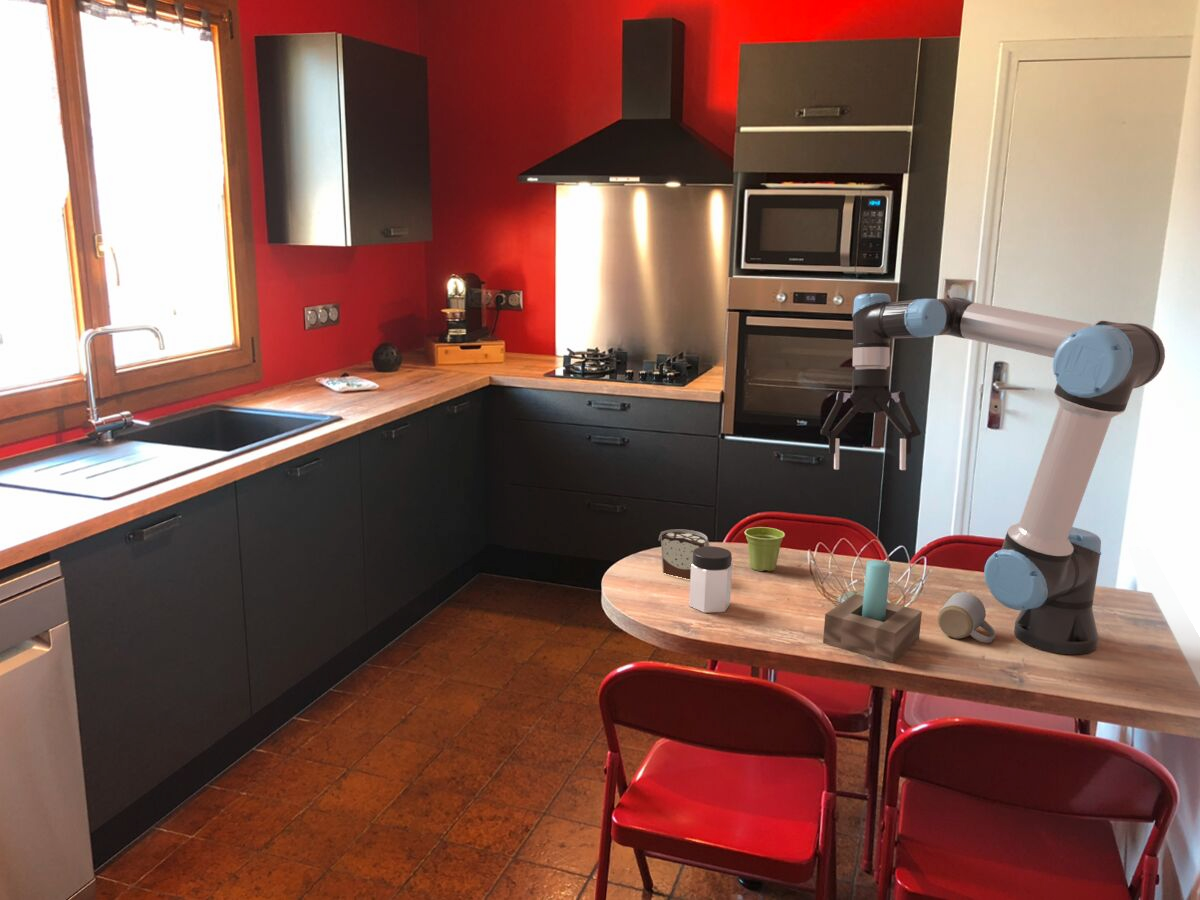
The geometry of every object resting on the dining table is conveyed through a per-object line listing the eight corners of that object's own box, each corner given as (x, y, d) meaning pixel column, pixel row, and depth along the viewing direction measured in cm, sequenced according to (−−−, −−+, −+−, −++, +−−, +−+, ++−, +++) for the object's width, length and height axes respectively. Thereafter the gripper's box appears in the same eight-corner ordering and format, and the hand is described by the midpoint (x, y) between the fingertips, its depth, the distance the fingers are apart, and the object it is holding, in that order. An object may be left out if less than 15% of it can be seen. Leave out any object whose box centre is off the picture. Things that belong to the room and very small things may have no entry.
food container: (716, 576, 228) (719, 535, 226) (705, 584, 223) (707, 541, 221) (669, 565, 234) (671, 525, 232) (657, 573, 229) (658, 531, 227)
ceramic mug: (933, 635, 198) (938, 599, 196) (945, 622, 204) (950, 587, 203) (988, 649, 192) (993, 613, 190) (999, 636, 199) (1004, 600, 197)
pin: (886, 635, 194) (893, 563, 191) (878, 642, 191) (884, 569, 188) (865, 629, 197) (871, 558, 194) (856, 636, 194) (862, 564, 190)
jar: (738, 607, 210) (741, 554, 207) (711, 616, 204) (714, 561, 202) (708, 595, 216) (710, 543, 214) (681, 603, 211) (683, 550, 209)
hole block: (919, 639, 196) (921, 611, 194) (892, 662, 185) (895, 633, 183) (852, 621, 204) (854, 593, 202) (822, 642, 193) (825, 614, 192)
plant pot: (734, 567, 234) (736, 532, 232) (755, 558, 241) (757, 524, 239) (769, 577, 228) (771, 541, 226) (789, 567, 235) (792, 532, 233)
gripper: (928, 368, 210) (926, 468, 211) (808, 369, 212) (807, 467, 213) (936, 367, 202) (934, 471, 203) (812, 368, 205) (810, 470, 206)
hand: (869, 469), depth 208 cm, fingers open, 13 cm apart
